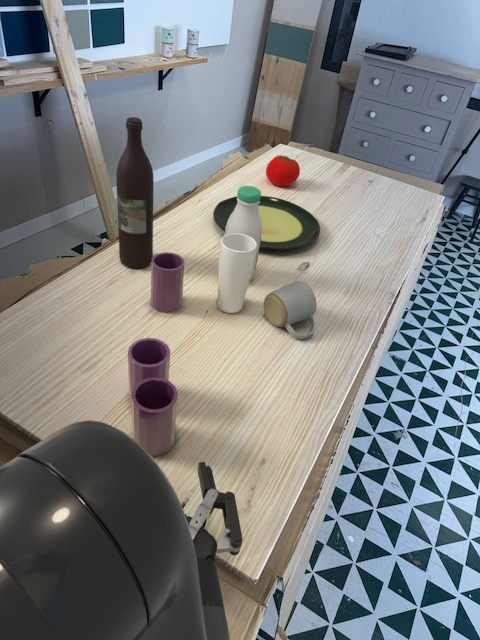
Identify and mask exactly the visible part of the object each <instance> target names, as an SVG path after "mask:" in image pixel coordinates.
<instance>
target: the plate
mask: <svg viewBox="0 0 480 640" xmlns="http://www.w3.org/2000/svg"><path fill="white" fill-rule="evenodd" d="M237 197H238V196H237V195H236V196H232V197H229V198H225V199H223V200H221V201H220V202H218V203H217V204H216V206H215V207H214V209H213V214H212V216H213V221H214V222H215V224H216V225H217V227H218V228H220V230H222V232H223V233H225V229H226V224H227V221H228V219H229V217H230V215H231V214H232V212H233V211H234V209H235V207H236V205H237V202H238V201H237ZM258 211H259V216H260V219H261V223H262V235H261V242H260V247H259V248H261V249H268V250H279V251H280V250H283V251H284V250H292V249H293V250H294V249H298V248H303V247H306V246H309V245H311V244H313V243H314V242H315V241H316V240H318V238H319V237H320V234H321V226H320V223H319V221H318V219H317V218H316V217H315V216H314V215H313V214H312V213H311V212H310V211H308V210H307V209H305V208H303V207H302V206H300V205H298V204H295V202H291V201H288V200H285V199H282V198H279V197H275V196H274V197H273V196H268V195H261V198H260V203H259V204H258Z"/></svg>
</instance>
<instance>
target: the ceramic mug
mask: <svg viewBox="0 0 480 640" xmlns="http://www.w3.org/2000/svg"><path fill="white" fill-rule="evenodd" d="M263 311H264V314H265V317H266V318H267V320H268V321H269V323H271V325H273V326H275V327H277V328H283V327H285V329H286V330H287V332H288V333H289V335H291V336H292V337H293V338H295V339H297V340H305V339H307V338H309V337H310V336H312V335H313V334H314V332H315V331H316V330H315V329H316V322H315V318H314V315H315V313H316V311H317V299H316V296H315V293H314V291H313V289H312V288H311V286H310V285H309V284H308V283H307V282H305V281H303V280H295V281H293V282H291V283H289V284H286V285H284V286H281V287H280V288H277V289H275V290H272V291H271V292H269V293H268V294H267V295H266V296H265V297H264V300H263ZM303 320H307V321H308V323H309V326H310V331H309V332H308V333H306V334H305V333H299V332H297V331H295V329H294V328H293V327H292V325H293V324H295V323H299V322H301V321H303Z"/></svg>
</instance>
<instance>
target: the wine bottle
mask: <svg viewBox="0 0 480 640" xmlns="http://www.w3.org/2000/svg"><path fill="white" fill-rule="evenodd" d="M125 128H126V133H127V134H126V135H127V139H126V146H125V149H124V150H123V152H122V155H120V158H119V160H118V163H117V167H116V175H115V177H116V179H115V180H116V181H115V182H116V204H117V205H116V206H117V226H118V227H117V230H118V249H119V250H118V251H119V253H118V254H119V261H120V263H121V264H122V265H123V266H125V267H126V268H129V269H136V270H137V269H144V268H147V267H149V266H150V265H151V261H152V258H153V257H154V183H155V181H154V170H153V166H152V164H151V161H150V159H149V157H148V155H147V153H146V151H145V149H144V146H143V140H142V131H143V121H142V119H141V118H139V117H136V116H135V117H133V116H131V117H127V118H126V121H125Z"/></svg>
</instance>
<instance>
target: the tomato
mask: <svg viewBox="0 0 480 640" xmlns="http://www.w3.org/2000/svg"><path fill="white" fill-rule="evenodd" d="M300 174H301V168H300V165H299V163H298V161H296V159H292V158H290V157H289V156H288V155H281V154H280V155H276V156H274V157H273V158H272V159H271V160H270V161H269V162H268V163H267V165H266V169H265V175H266V178H267V180H268V182H270V183H271V184H273V185H275V186H277V187H287V186H290V185H293V184H294V183H295V182H296V181H297V180H298V178H299V177H300Z"/></svg>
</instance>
